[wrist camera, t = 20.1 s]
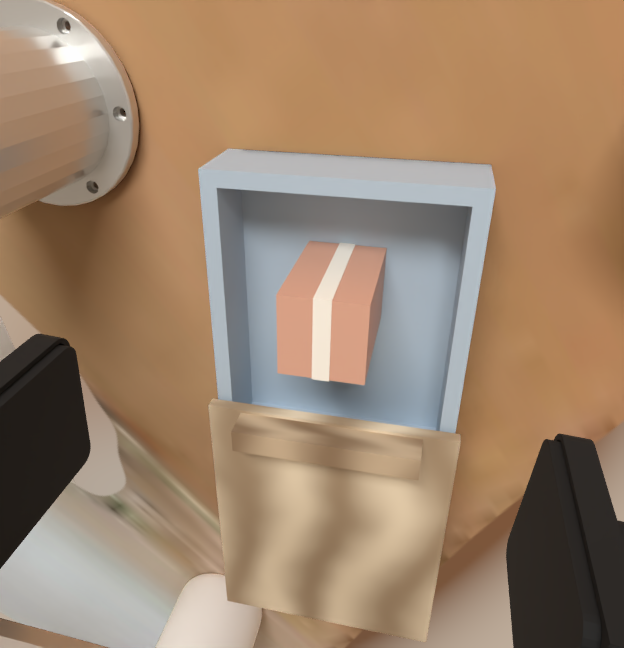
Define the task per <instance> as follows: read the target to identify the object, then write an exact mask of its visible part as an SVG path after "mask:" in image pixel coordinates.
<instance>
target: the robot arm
mask: <svg viewBox="0 0 624 648" xmlns="http://www.w3.org/2000/svg"><path fill="white" fill-rule="evenodd" d="M69 23H70V26H71V28H70V26H69ZM123 109H124V110H125V113H126V115H125V114H124V112H123ZM138 136H139V118H138V107H137V103H136V99H135V95H134V91H133V87H132V85H131V82H130V80H129V78H128V75H127V73H126V71H125V68H124V66H123V64H122V63H121V61H120V59H119V58H118V56H117V55H116V53H115V51H114V50H113V48H112V47H111V45H110V44H109V43H108V42H107V41H106V40H105V38H104V37H103V36H102V35H101V34H100V32H99V31H98V30H97V29H96V28H95V27H93V26H92V25H91V24H90V23H89V22H88V21H86V20H85V19H84V18H83V17H82V16H81V15H79V14H77V13H76V12H74V11H72V10H71V9H69V8H67V7H66V6H64V5H62V4H59V3H57V2H54V1H51V0H0V219H1V218H3V217H5V216H7V215H9V214H11V213H13V212H15V211H17V210H19V209H21V208H24V207H26V206H28V205H30V204H32V203H34V202H36V201H41V202H43V203H47V204H53V205H58V206H77V205H81V204H85V203H89V202H92V201H94V200H96V199H98V198H100V197H102V196H104V195H105V194H107V193H108V192H109V191H111V190H112V189H114V188H115V187H116V186H117V185H118V184H119V183H120V182H121V180H122V179H123V178H124V177H125V176H126V174H127V172H128V170H129V168H130V167H131V165H132V163H133V160H134V156H135V153H136V149H137V146H138ZM89 453H90V440H89V433H88V426H87V420H86V414H85V407H84V400H83V394H82V388H81V381H80V375H79V368H78V362H77V355H76V351H75V350H74V348H72V347H70V345H69V342H68V341H67V340H66V339H64V338H59V337H54V336H49V335H43V334H36V335H34V336H32V337H31V338H30V339H28V340H27V341H26V342H25V343H23V344H22V345H21V346H19V347H18V348H17V349H16V350H14V351H13V352H12V353H11V354H9V355H8V356H7V357H6V358H4V359H3V360H2V361H1V362H0V569H1V567H2V566H3V565H4V564H5V562H6V561H7V560H8V559H9V557H10V556H11V555H12V554H13V552H14V551H15V550H16V549H17V547H18V546H19V545H20V544H21V542H22V541H23V540H24V539H25V537H26V536H27V535H28V534H29V532H30V531H31V530H32V529H33V527H34V526H35V525H36V524H37V522H38V521H39V520H40V519H41V517H42V516H43V515H44V514H45V513H46V511H47V510H48V509H49V508H50V506H51V505H52V504H53V503H54V501H55V500H56V499H57V498H58V496H59V495H60V494H61V493H62V491H63V490H64V489H65V488H66V486H67V485H68V484H69V483H70V481H71V480H72V479H73V478H74V476H75V475H76V474H77V473H78V471H79V470H80V469H81V468H82V466H83V465H84V464H85V462H86V461H87V459H88V457H89ZM506 553H507V554H506V558H507V559H506V560H507V572H508V585H509V597H510V609H511V621H512V634H513V646H514V648H624V522H622V521H617V518H616V515H615V512H614V508H613V505H612V502H611V498H610V495H609V492H608V488H607V485H606V482H605V478H604V475H603V471H602V468H601V465H600V461H599V458H598V455H597V451H596V448H595V445H594V443H593V441H592V440H590V439H585V438H580V437H575V436H569V435H564V434H557V436H556V437H555V439H554V441H553V440H548V439H546V440H544V442H543V444H542V446H541V449H540V452H539V455H538V457H537V460H536V463H535V466H534V469H533V471H532V474H531V477H530V480H529V483H528V485H527V488H526V491H525V494H524V497H523V500H522V502H521V505H520V508H519V511H518V514H517V516H516V519H515V522H514V525H513V527H512V531H511V533H510V536H509V539H508V543H507V552H506ZM0 648H108V647H104V646H101V645H97V644H93V643H90V642H86V641H83V640H79V639H75V638H72V637H68V636H64V635H61V634H57V633H53V632H50V631H46V630H42V629H38V628H35V627H31V626H27V625H24V624H20V623H16V622H12V621H9V620H5V619H2V618H0Z"/></svg>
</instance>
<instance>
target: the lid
mask: <svg viewBox="0 0 624 648" xmlns="http://www.w3.org/2000/svg"><path fill="white" fill-rule="evenodd" d="M208 409H209V419H210V429H211V439H212V450H213V460H214V470H215V480H216V490H217V500H218V511H219V521H220V531H221V541H222V551H223V561H224V572H225V582H226V592H227V601H231V602H235V603H240V604H245V605H250V606H255V607H259V608H264V609H269V610H274V611H278V612H283V613H288V614H293V615H298V616H302V617H307V618H312V619H317V620H322V621H326V622H331V623H336V624H341V625H345V626H350V627H355V628H360V629H365V630H370V631H374V632H379V633H384V634H388V635H393V636H398V637H403V638H408V639H413V640H417V641H422V642H426V639H427V634H428V627H429V622H430V616H431V611H432V605H433V599H434V593H435V587H436V582H437V576H438V570H439V564H440V559H441V553H442V547H443V541H444V536H445V530H446V524H447V518H448V513H449V507H450V501H451V495H452V489H453V484H454V478H455V472H456V466H457V461H458V455H459V449H460V443H461V434H456V433H449V432H442V431H435V430H428V429H421V428H414V427H407V426H400V425H393V424H386V423H379V422H372V421H365V420H359V419H352V418H345V417H338V416H331V415H324V414H317V413H310V412H303V411H296V410H289V409H282V408H275V407H268V406H261V405H254V404H247V403H240V402H233V401H226V400H219V399H212V400H211V402H210V403H209V405H208Z"/></svg>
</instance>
